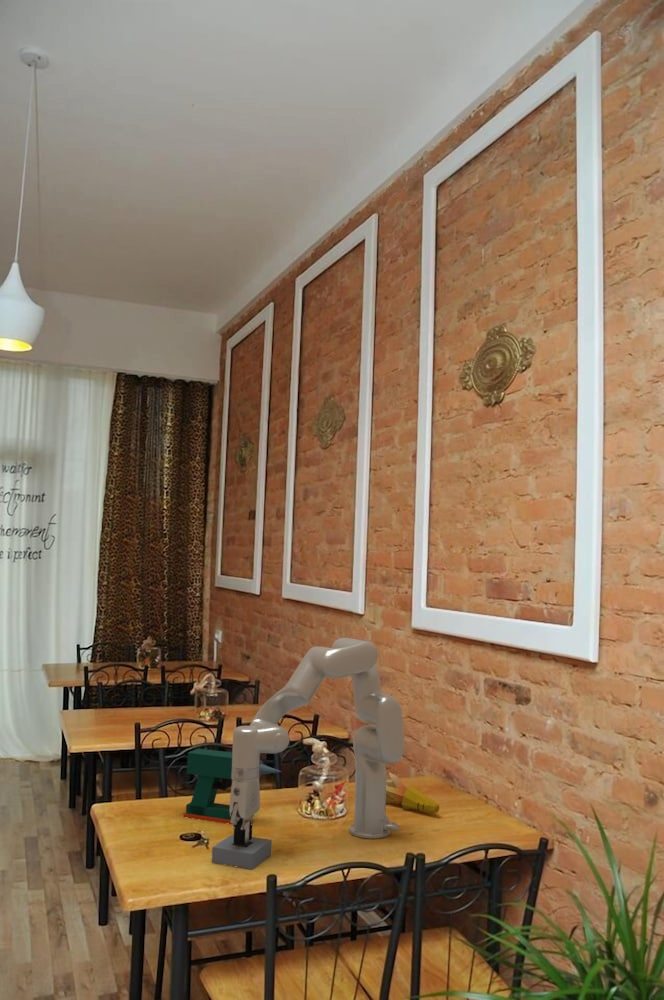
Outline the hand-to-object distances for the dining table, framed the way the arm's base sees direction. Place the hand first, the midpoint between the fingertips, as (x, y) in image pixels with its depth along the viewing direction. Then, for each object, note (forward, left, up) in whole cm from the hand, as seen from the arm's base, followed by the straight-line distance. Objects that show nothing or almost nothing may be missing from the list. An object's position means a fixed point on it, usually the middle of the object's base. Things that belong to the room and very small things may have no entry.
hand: (242, 840), depth 218 cm
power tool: (+17, -28, -5) cm, 33 cm away
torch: (-30, -64, -5) cm, 71 cm away
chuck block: (0, 0, -5) cm, 5 cm away
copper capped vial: (0, 0, -3) cm, 3 cm away
